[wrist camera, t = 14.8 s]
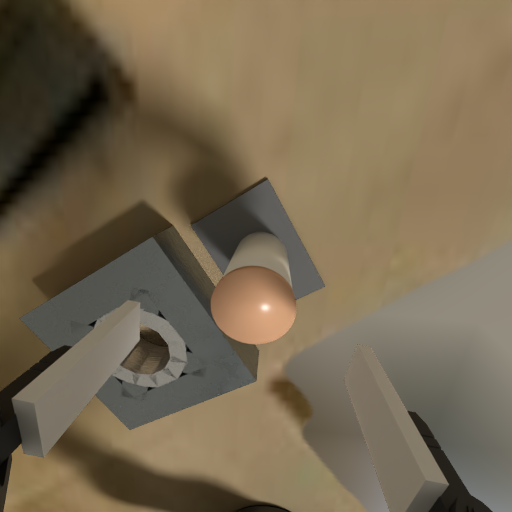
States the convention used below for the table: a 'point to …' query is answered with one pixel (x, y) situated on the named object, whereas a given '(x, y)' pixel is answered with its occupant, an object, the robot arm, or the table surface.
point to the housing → (159, 319)
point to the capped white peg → (255, 292)
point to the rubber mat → (257, 220)
